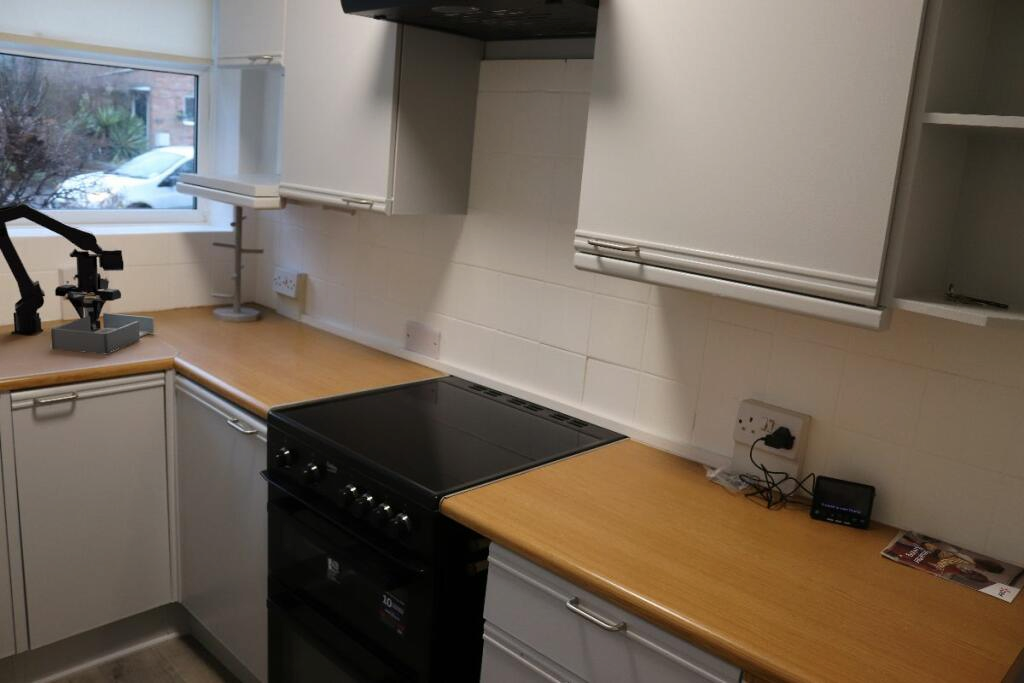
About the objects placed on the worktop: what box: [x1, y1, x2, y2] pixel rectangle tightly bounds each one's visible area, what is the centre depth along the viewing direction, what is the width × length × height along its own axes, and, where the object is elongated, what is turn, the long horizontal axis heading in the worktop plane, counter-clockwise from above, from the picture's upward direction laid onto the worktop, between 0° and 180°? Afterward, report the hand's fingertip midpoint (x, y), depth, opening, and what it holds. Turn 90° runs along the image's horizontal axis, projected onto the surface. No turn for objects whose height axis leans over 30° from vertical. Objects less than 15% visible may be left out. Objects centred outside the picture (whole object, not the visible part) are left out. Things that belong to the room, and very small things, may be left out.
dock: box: [50, 316, 141, 354], centre depth 244 cm, size 18×17×6 cm
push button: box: [80, 297, 102, 331], centre depth 259 cm, size 7×5×10 cm
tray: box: [93, 312, 155, 338], centre depth 253 cm, size 18×16×5 cm
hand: (89, 319), depth 259 cm, fingers closed on push button, 4 cm apart
